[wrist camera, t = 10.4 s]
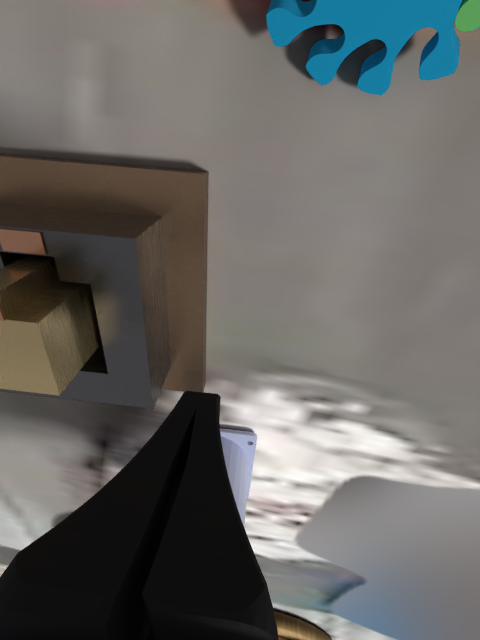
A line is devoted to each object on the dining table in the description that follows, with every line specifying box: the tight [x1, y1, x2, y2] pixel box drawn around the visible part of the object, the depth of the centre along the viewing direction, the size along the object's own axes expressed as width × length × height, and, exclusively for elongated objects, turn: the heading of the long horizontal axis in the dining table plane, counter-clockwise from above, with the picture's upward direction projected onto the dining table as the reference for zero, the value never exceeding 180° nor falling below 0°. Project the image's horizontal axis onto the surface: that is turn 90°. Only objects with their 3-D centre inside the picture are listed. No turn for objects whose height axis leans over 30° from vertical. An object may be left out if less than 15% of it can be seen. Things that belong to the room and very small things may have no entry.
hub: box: [0, 154, 208, 409], centre depth 19 cm, size 15×15×5 cm
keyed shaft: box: [0, 254, 102, 396], centre depth 16 cm, size 5×4×7 cm
